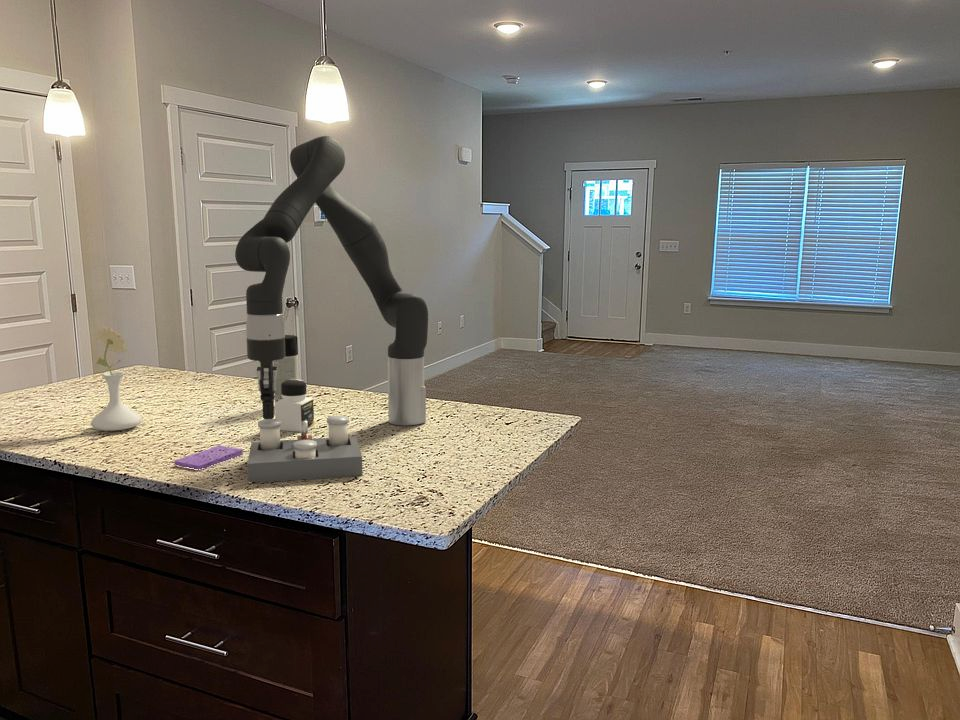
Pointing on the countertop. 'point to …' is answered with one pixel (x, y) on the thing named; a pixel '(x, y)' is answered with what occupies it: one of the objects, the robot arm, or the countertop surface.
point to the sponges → (209, 457)
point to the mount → (304, 462)
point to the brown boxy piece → (304, 432)
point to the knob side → (305, 448)
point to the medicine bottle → (294, 406)
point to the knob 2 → (338, 430)
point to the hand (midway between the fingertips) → (268, 418)
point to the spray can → (287, 365)
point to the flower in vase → (114, 389)
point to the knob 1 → (269, 434)
